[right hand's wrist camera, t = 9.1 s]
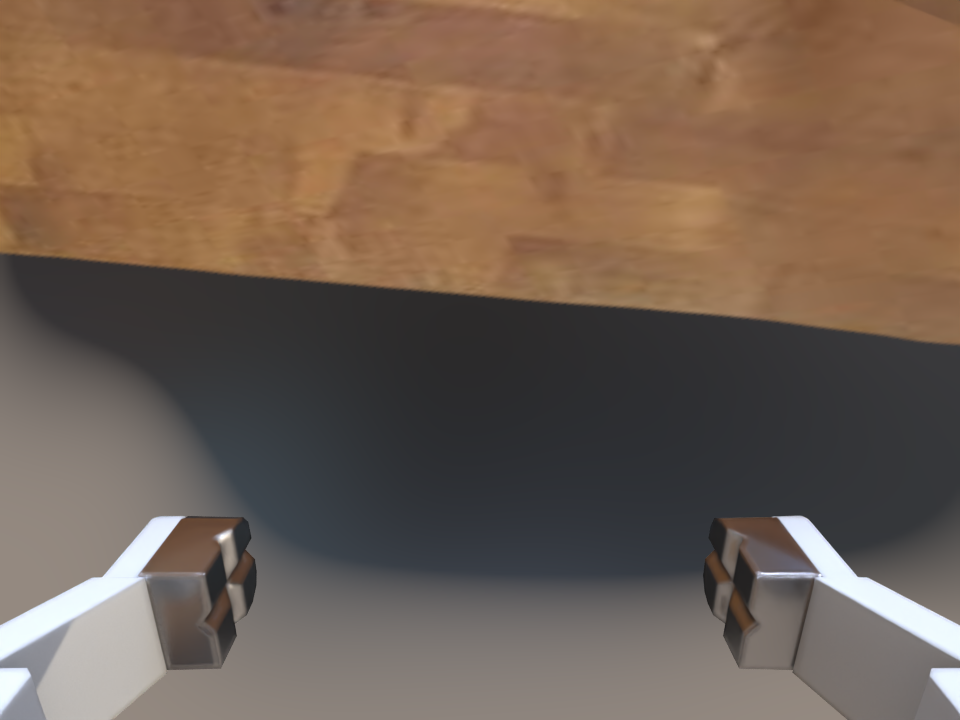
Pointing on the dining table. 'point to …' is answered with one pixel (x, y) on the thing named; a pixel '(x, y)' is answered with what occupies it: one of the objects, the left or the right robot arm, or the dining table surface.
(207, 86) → the dining table surface
